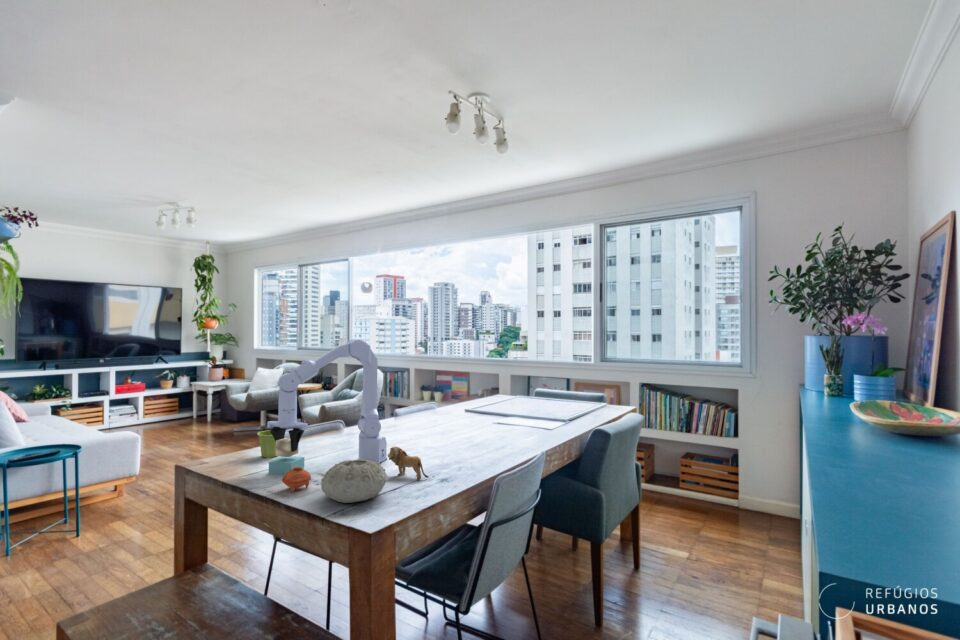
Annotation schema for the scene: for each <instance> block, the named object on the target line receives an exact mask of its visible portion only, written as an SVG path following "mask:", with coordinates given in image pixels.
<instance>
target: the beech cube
mask: <svg viewBox="0 0 960 640" xmlns="http://www.w3.org/2000/svg"><path fill="white" fill-rule="evenodd" d="M298 454H299V446H298V447H297V450H296V451H294V452H292V451H291V440H290V437H284V438H283V439H280V440H277V441H276V456H275V457H281V456H282V457H290V456H295V455H298Z"/></svg>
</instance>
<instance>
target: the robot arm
mask: <svg viewBox="0 0 960 640" xmlns="http://www.w3.org/2000/svg"><path fill="white" fill-rule="evenodd" d="M349 357H351V358H354V359H355V360H357V361H358V362H359V363H360V364H361V365H362V400H361V401H362V403H361V404H362V407H361V411H360V417H359V419H358V421H357V428H358V430H359V434H358V458H356V459H355V460H359V459H367V460H371V461H374V462H376V463H379V464H380V463H382V462H384V461H385V460H387V459H388V456H387V445H388V443H387V439H386V437H385V436H381V435H380V432H381V429H382V425H381V422H380V420H379V418H380V417H379V416H380V415H379V413H378V409H377V407H378V406H377V405H378V404H377V401H378V400H377V399H378V398H377V397H378V358H377V356H376V355H375V353H374V351H373V350H372V348H371V346H370V344H368V343H367V342H366V341H365V340H363V339H354V338H352V339H349V340H347V342H343V343H341V344H338V345H337V346H336V347H334V348H332V349H331V350H329V351H327V352H326V353H324V354H323V355H322V356H320V357H319V358H317V359H315V360H310V359H309V360H303V361H301V364H300V365H298V366H296V367H294V368H293V369H292V368H290V369H288V372H289V373H288V372H287V373H283V374H282V375H280V376H279V379H278V381H277V385H278V387H279V390H278V395H279V396H278V414H277V415H278V417H277V419H278V420H270V421H267V427H266V428H269V430H270V432H271V434H272V435H273V437H274V439H275V442H276V441H277V440H280V439H283V438H285V435H286V431H287V429H289V430H288V435H289V438H290V440H291V451H292V452H294V451H296V450H297V447H298V448H299V444H300V440H301V438H302V436H303V434H304V432H305V431H306V430H308V429H309V423H308V422H300V421H297V420H298V419H297V418H298V416H297V415H298V395H297V388H298V387H299V385H303V384H304V383H306V382H308V381H309V380H311V379H312V378H314V377H315V376H317V375H318V374H319V371H320V369H321V368H323V367H325V366H327V365H328V364H331V363H332V362H334V361H335V360H338V359H339V358H349ZM270 428H272V429H270Z"/></svg>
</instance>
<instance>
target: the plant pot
mask: <svg viewBox="0 0 960 640" xmlns="http://www.w3.org/2000/svg"><path fill="white" fill-rule="evenodd" d="M270 430H271V429H269V430H263V431H258V432H257V436H258V439H259V446H260V455H261V457H262V458H264V459H265V458H266V459H268V458H269V459H271V458H274V457H277V456H276V442H275V439H274V437H273V435H272V434H271V432H270Z"/></svg>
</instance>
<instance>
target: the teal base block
mask: <svg viewBox="0 0 960 640" xmlns="http://www.w3.org/2000/svg"><path fill="white" fill-rule="evenodd" d="M294 467H301V468H303V469H304V468H305V456H295V455H293V456H290V457H282V456H278V457H277V458H275V459H272V460H270V461H268V474H269V475H271V474H272V475H285V474H286V473H287V472H288V471H290V469H292V468H294Z"/></svg>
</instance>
